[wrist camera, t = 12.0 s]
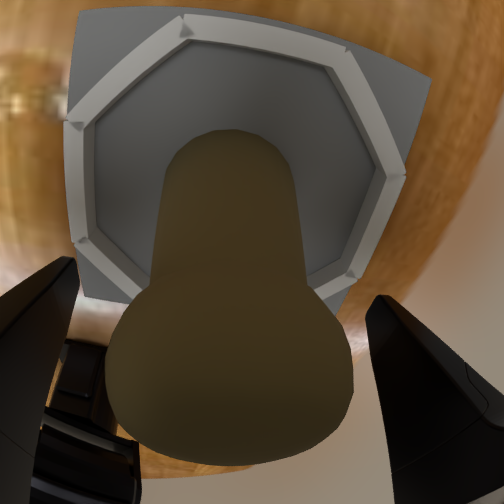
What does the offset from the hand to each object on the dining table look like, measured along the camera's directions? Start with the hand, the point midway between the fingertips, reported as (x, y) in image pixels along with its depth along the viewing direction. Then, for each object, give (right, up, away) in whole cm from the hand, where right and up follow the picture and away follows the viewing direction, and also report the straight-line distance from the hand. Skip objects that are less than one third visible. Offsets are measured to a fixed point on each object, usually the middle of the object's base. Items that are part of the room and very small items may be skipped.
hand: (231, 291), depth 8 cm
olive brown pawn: (0, +4, +5) cm, 7 cm away
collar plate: (0, +4, +6) cm, 7 cm away
